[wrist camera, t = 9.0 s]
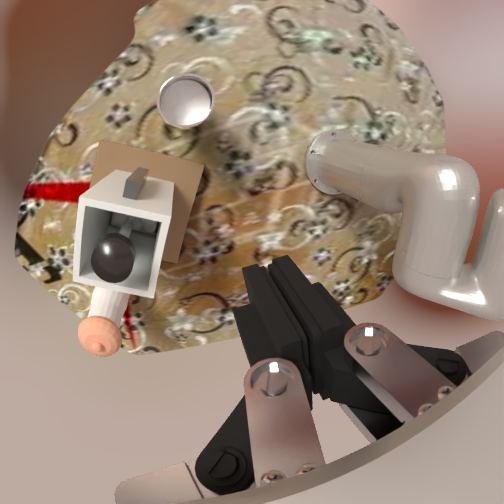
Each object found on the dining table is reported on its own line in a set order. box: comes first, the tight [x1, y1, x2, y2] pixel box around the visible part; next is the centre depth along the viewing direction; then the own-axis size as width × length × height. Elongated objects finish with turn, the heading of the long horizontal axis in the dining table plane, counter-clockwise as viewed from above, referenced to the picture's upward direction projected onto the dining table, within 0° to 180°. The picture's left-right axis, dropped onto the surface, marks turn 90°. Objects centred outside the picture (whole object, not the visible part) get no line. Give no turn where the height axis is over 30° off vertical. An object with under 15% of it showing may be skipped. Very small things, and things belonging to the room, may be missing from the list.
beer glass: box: [157, 73, 215, 130], centre depth 33 cm, size 7×7×15 cm
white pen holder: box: [73, 140, 205, 298], centre depth 36 cm, size 18×18×20 cm
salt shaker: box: [78, 286, 131, 357], centre depth 41 cm, size 7×7×19 cm
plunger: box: [91, 212, 157, 283], centre depth 33 cm, size 8×8×20 cm
